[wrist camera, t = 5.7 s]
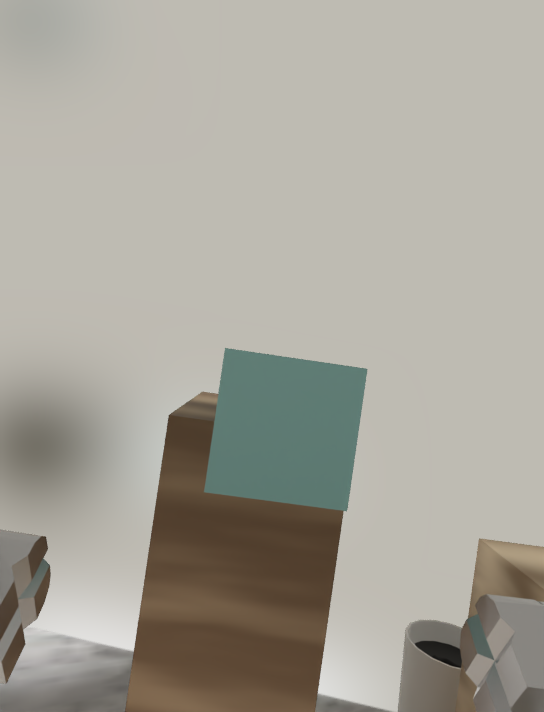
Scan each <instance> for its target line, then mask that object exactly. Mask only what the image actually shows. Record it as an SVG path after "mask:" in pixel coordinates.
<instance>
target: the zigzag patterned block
mask: <svg viewBox="0 0 544 712" xmlns="http://www.w3.org/2000/svg"><path fill="white" fill-rule="evenodd" d="M485 594H489V595H498V596H507V597H515V598H524V599H532V600H536V601H541V602H544V547H539V546H532V545H524V544H517V543H509V542H502V541H494V540H486V539H479V544H478V551H477V558H476V565H475V573H474V579H473V586H472V594H471V601H470V608H469V615H468V618H470V617H472V616H474V615H476V614H478V613H477V610H476V607H475V604H476V603H477V601H478V599H479V598H480V597H481V596H483V595H485ZM476 689H477V686H476V685H475V684H474V682H473V681H472V680H471V679H470V678H469V677H468V675H467V674H466V673H465V670H464V666H463V663H462V665H461V673H460V680H459V687H458V694H457V701H456V708H455V712H476V708H475V705H474V701H473V698H474V695H475V692H476Z"/></svg>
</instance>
